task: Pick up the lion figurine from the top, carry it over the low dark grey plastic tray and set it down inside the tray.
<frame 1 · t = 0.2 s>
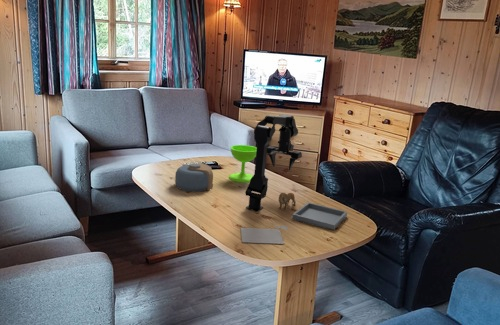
hand: (281, 168, 234), 14 cm above the table, tool pointing down, fingers open, 9 cm apart
alarm clock: (193, 186, 239), on the table
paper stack: (269, 233, 189), on the table
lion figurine: (286, 208, 218), on the table
tray: (319, 217, 209), on the table
wineglass: (242, 178, 259), on the table
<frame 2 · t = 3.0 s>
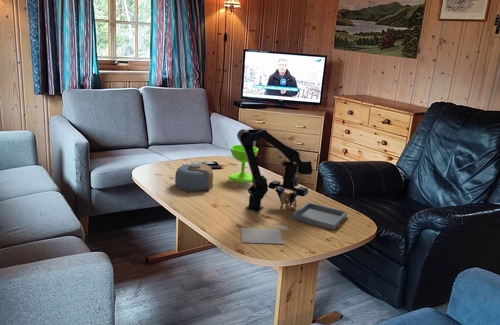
hand: (286, 204, 218), 2 cm above the table, tool pointing down, fingers open, 4 cm apart
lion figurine: (287, 207, 219), on the table, touching gripper
everything else where it was.
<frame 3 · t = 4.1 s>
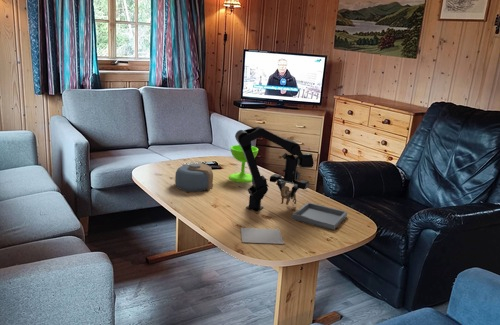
hand: (287, 198, 217), 5 cm above the table, tool pointing down, fingers closed on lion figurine, 4 cm apart
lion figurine: (288, 204, 217), point 2 cm above the table, touching gripper
everything else where it was.
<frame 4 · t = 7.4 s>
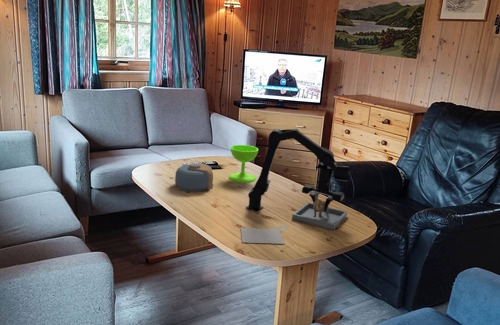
hand: (320, 210, 207), 4 cm above the table, tool pointing down, fingers closed on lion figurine, 4 cm apart
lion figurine: (320, 216, 207), point 1 cm above the table, touching gripper
everything else where it was.
when the fingers open (4 cm above the table, at t = 8.3 s): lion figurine stays where it is, resting on tray.
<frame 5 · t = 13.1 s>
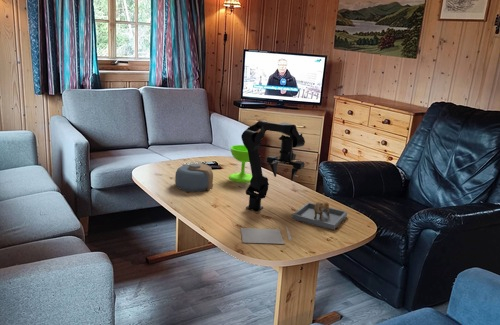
hand: (283, 178, 224), 12 cm above the table, tool pointing down, fingers open, 9 cm apart
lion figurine: (321, 217, 208), resting on tray
everything else where it was.
at the end: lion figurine inside the target area on the tray (0.7 cm from its centre), point 0.3 cm above the tray's base; the gripper is holding nothing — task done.
